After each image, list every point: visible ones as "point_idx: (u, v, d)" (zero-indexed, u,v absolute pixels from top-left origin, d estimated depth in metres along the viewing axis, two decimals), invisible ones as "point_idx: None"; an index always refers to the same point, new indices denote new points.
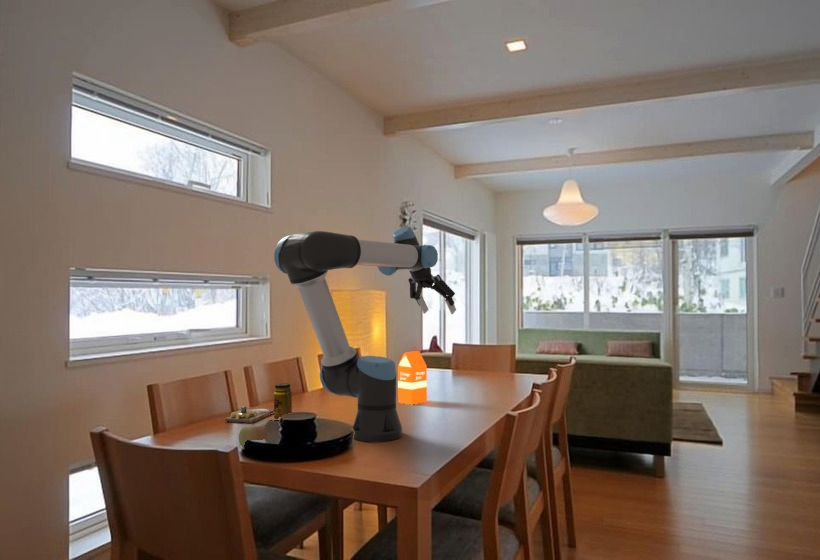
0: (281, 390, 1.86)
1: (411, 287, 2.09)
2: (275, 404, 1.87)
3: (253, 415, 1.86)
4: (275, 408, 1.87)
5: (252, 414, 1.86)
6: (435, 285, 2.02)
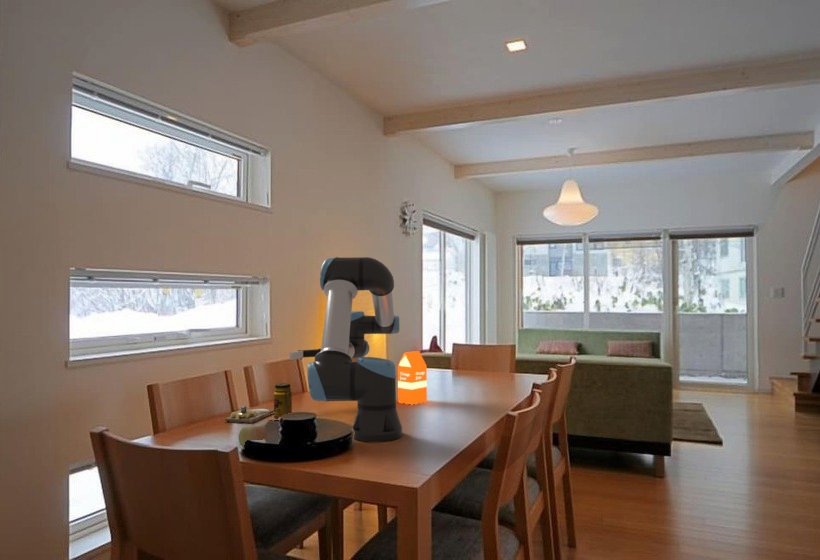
0: (281, 390, 1.86)
1: None
2: (275, 404, 1.87)
3: (253, 415, 1.86)
4: (275, 408, 1.87)
5: (252, 414, 1.86)
6: None
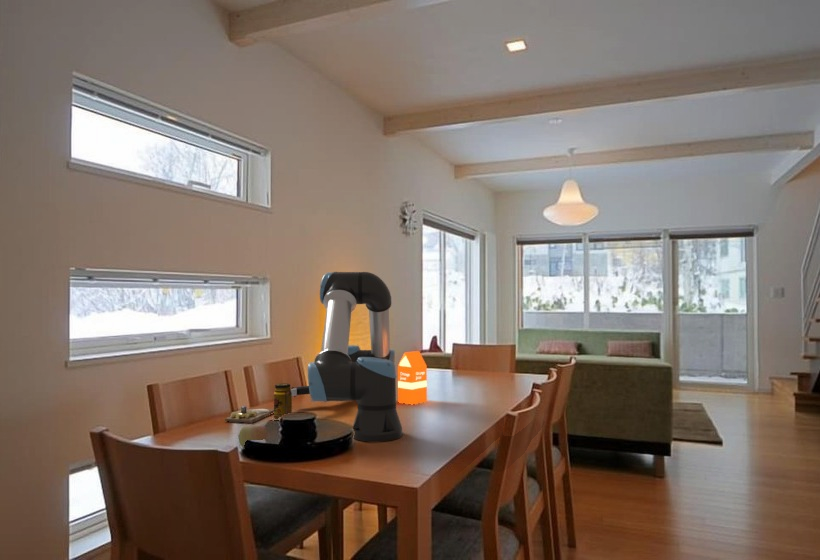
0: (281, 390, 1.86)
1: (306, 386, 2.10)
2: (275, 404, 1.87)
3: (253, 415, 1.86)
4: (275, 408, 1.87)
5: (252, 414, 1.86)
6: None
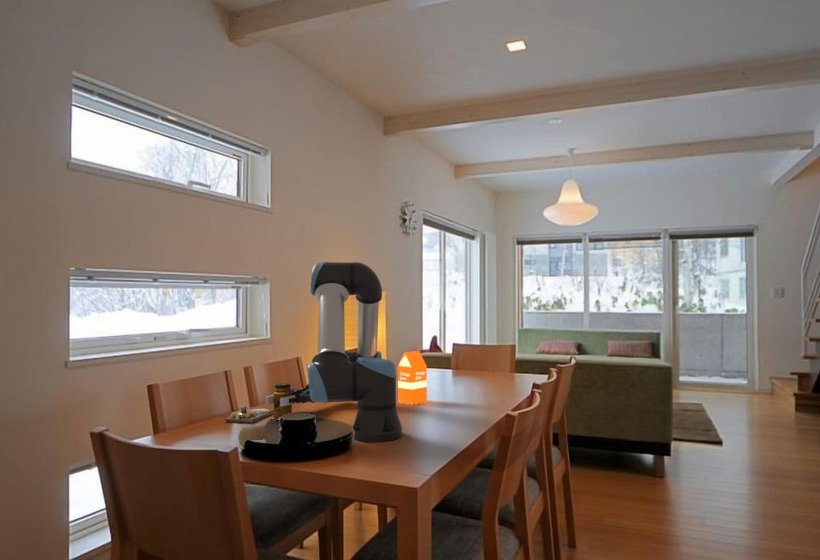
0: (281, 390, 1.86)
1: None
2: (275, 404, 1.87)
3: (253, 415, 1.86)
4: (275, 408, 1.87)
5: (252, 414, 1.86)
6: (307, 395, 1.95)
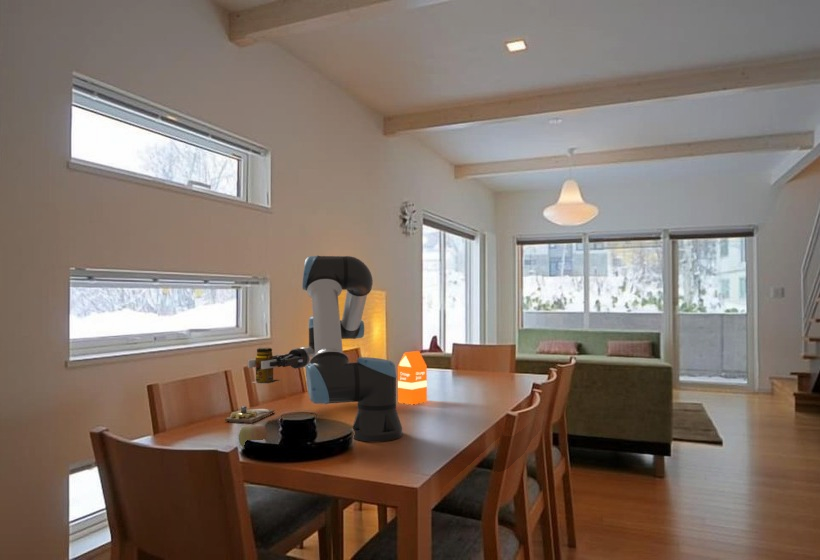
0: (262, 354, 1.92)
1: None
2: (257, 367, 1.92)
3: (253, 415, 1.86)
4: (257, 371, 1.92)
5: (252, 414, 1.86)
6: None
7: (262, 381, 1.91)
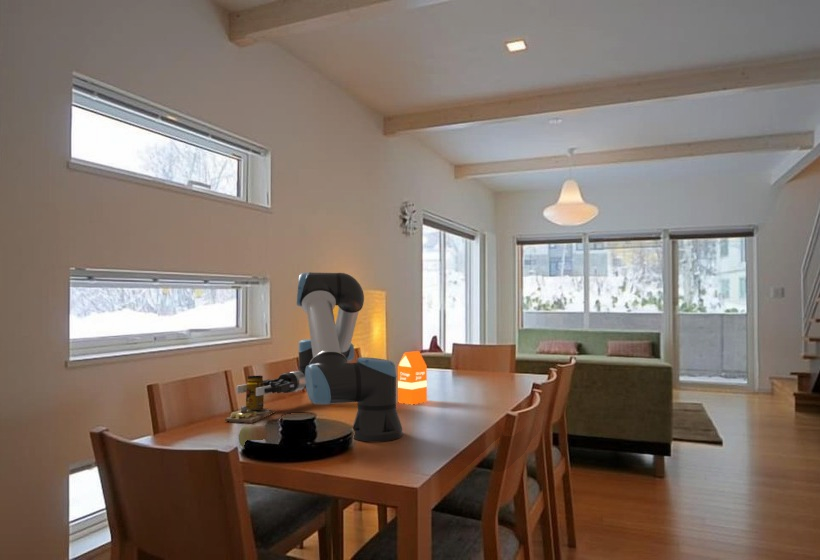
0: (253, 380, 1.94)
1: None
2: (247, 394, 1.93)
3: (253, 415, 1.86)
4: (247, 398, 1.93)
5: (252, 414, 1.86)
6: None
7: (252, 408, 1.92)
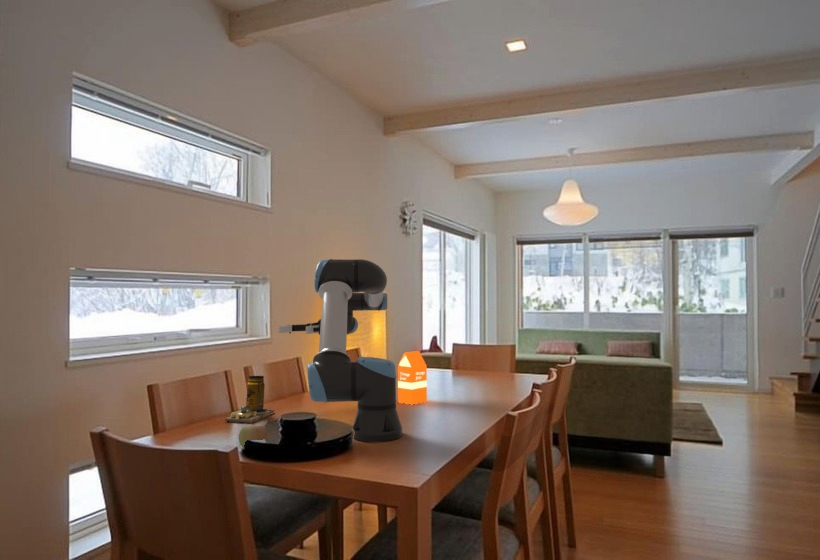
0: (254, 380, 1.94)
1: (301, 324, 2.17)
2: (248, 394, 1.93)
3: (253, 415, 1.86)
4: (247, 398, 1.93)
5: (252, 414, 1.86)
6: None
7: (252, 408, 1.92)
